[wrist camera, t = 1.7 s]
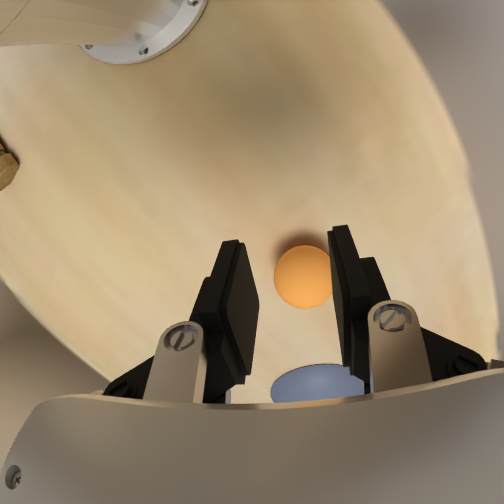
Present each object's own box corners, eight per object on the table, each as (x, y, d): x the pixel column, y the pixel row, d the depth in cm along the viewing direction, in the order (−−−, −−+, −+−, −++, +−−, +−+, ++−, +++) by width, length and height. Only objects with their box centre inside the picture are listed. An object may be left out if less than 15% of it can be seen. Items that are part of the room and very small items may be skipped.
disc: (262, 368, 38) (262, 369, 38) (370, 357, 35) (370, 358, 35) (278, 417, 45) (278, 418, 45) (363, 409, 42) (363, 410, 42)
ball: (270, 238, 28) (266, 273, 23) (330, 230, 27) (339, 264, 22) (279, 286, 31) (277, 325, 26) (334, 279, 30) (341, 317, 25)
